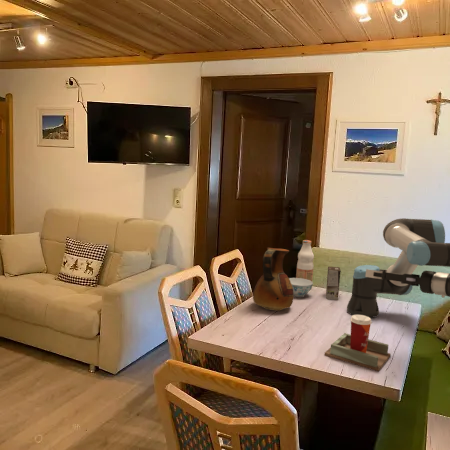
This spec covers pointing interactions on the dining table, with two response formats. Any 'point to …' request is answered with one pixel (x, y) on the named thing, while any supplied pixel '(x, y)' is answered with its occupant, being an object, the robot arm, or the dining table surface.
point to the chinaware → (300, 286)
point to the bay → (359, 353)
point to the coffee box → (333, 283)
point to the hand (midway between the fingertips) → (375, 274)
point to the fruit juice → (305, 262)
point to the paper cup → (359, 332)
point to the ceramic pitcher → (273, 282)
